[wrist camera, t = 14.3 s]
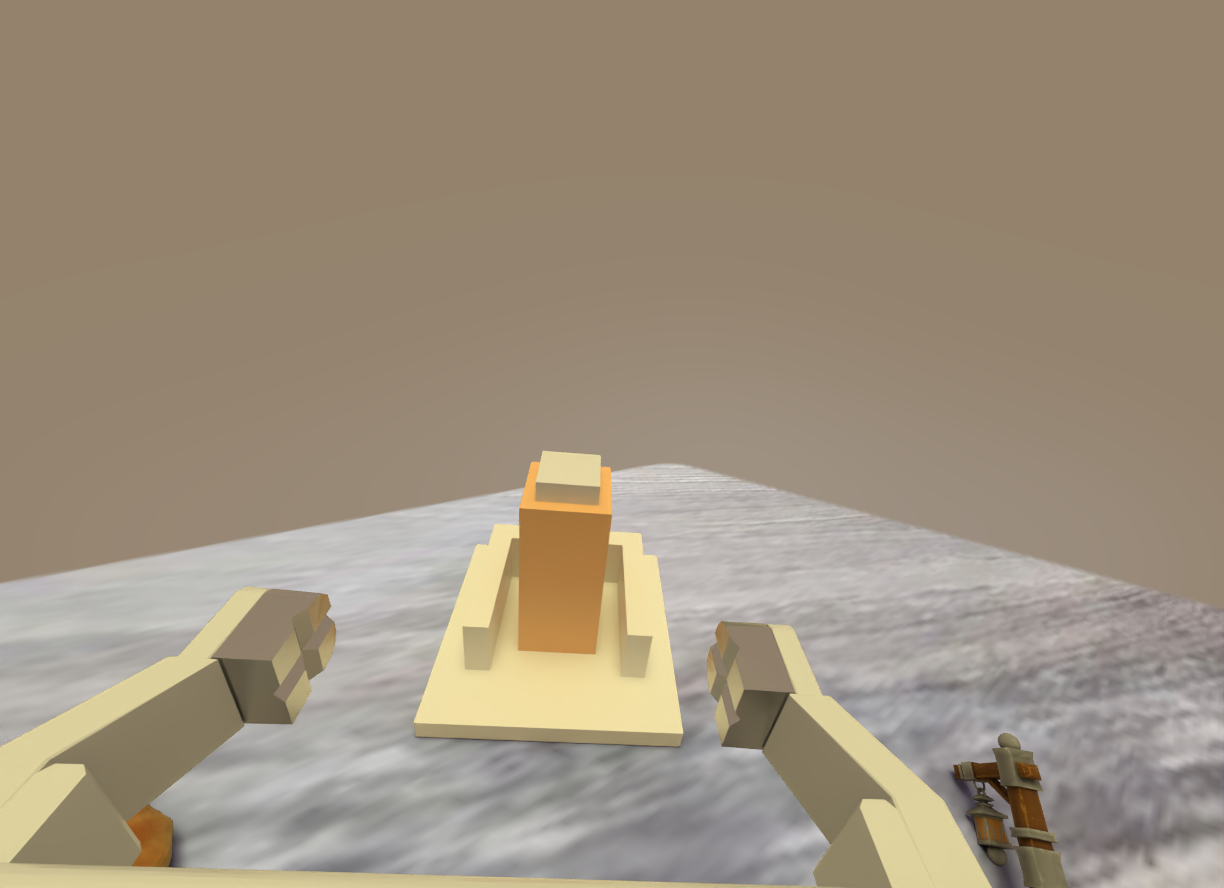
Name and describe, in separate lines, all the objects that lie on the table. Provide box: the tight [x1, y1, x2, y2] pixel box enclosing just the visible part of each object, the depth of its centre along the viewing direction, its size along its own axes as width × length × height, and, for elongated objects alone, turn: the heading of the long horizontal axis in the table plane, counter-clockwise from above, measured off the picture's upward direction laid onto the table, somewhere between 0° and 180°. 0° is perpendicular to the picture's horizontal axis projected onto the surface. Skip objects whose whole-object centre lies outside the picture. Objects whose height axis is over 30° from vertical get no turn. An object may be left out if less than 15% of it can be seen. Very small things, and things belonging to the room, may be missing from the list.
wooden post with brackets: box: [953, 733, 1069, 888], centre depth 19 cm, size 2×8×4 cm, turn 172°
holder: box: [414, 524, 683, 747], centre depth 26 cm, size 12×12×4 cm
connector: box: [518, 451, 612, 654], centre depth 24 cm, size 4×4×10 cm
